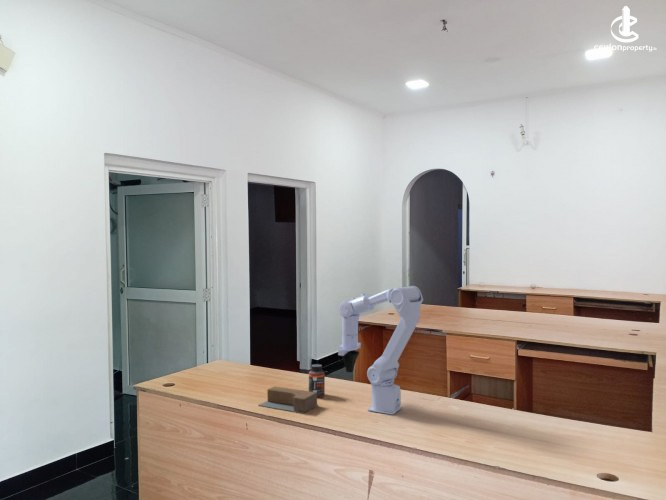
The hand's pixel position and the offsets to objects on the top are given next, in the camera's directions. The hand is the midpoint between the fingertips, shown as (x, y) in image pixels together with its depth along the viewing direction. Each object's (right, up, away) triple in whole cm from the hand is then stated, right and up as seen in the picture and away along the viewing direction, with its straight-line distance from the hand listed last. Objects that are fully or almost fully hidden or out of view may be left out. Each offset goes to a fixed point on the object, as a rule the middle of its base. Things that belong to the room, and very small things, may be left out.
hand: (349, 371), depth 186 cm
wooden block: (-13, -8, -10) cm, 18 cm away
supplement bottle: (-12, -11, +6) cm, 17 cm away
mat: (-22, -11, -6) cm, 25 cm away
